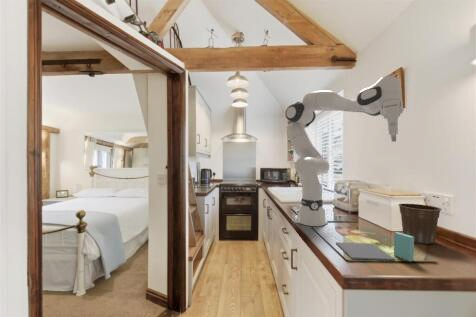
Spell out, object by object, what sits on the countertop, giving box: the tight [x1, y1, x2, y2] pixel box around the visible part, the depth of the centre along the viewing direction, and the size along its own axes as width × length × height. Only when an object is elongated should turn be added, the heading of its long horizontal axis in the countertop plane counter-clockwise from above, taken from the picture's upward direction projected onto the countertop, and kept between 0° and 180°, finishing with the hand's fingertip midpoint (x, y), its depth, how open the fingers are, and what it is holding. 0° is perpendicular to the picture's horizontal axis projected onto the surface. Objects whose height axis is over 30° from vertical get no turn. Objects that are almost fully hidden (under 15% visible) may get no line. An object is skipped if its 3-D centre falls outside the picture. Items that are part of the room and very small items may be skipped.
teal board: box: [393, 231, 415, 262], centre depth 91 cm, size 2×6×9 cm, turn 22°
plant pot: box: [398, 203, 442, 245], centre depth 112 cm, size 16×16×16 cm
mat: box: [335, 241, 396, 261], centre depth 96 cm, size 16×16×1 cm
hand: (393, 138), depth 104 cm, fingers open, 8 cm apart
